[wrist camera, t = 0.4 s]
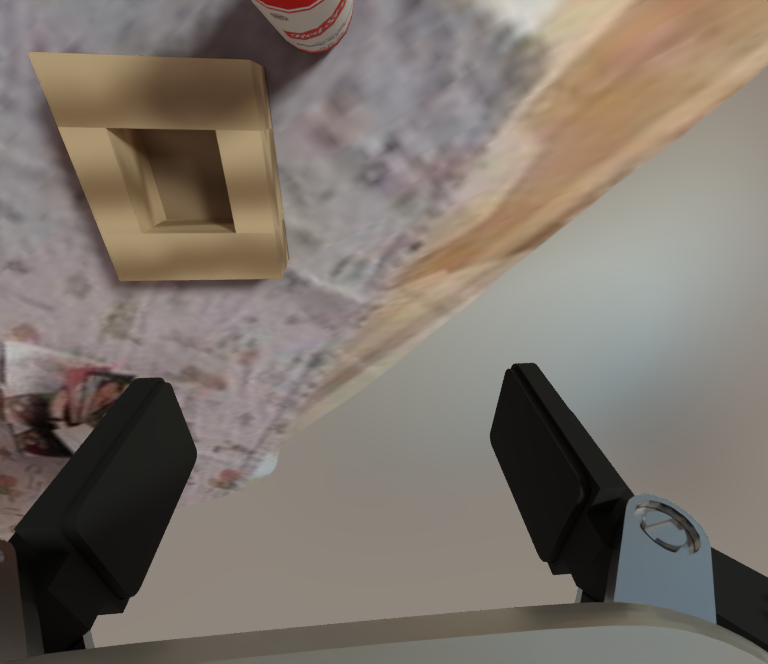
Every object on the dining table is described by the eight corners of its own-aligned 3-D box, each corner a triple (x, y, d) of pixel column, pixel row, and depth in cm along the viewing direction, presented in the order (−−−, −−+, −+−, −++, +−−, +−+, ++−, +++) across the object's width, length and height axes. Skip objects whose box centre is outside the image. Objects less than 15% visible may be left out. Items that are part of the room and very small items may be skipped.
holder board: (77, 61, 27) (27, 51, 23) (264, 67, 28) (250, 59, 24) (147, 260, 36) (119, 281, 31) (289, 259, 37) (281, 278, 32)
